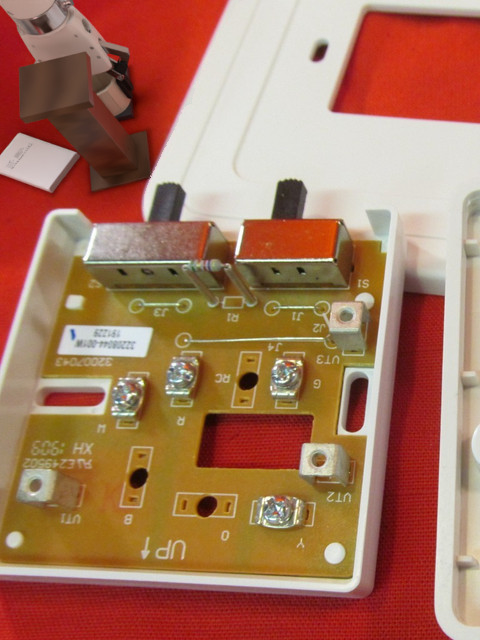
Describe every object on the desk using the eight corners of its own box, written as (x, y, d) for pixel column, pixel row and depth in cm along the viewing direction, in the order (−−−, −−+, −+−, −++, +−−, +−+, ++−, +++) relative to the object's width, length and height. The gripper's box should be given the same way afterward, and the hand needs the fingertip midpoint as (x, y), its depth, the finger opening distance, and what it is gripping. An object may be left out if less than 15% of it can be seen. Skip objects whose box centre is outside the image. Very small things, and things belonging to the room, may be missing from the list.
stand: (94, 194, 115) (19, 118, 98) (91, 148, 118) (18, 67, 101) (153, 179, 115) (89, 100, 98) (148, 134, 119) (85, 51, 102)
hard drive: (54, 195, 115) (-4, 173, 117) (82, 158, 118) (25, 137, 120) (48, 189, 113) (-11, 167, 116) (76, 151, 116) (18, 131, 118)
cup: (90, 122, 118) (72, 101, 114) (88, 91, 121) (70, 69, 116) (132, 112, 119) (115, 90, 114) (129, 81, 122) (113, 59, 117)
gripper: (95, -19, 105) (155, 70, 121) (-19, 8, 104) (57, 95, 120) (98, 15, 102) (158, 102, 118) (-19, 43, 101) (59, 127, 118)
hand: (107, 98), depth 119 cm, fingers closed on cup, 7 cm apart
